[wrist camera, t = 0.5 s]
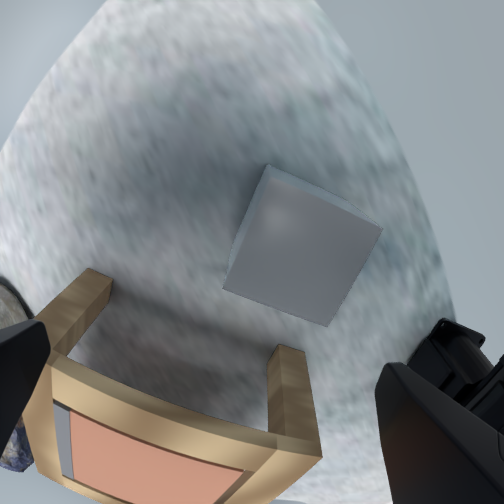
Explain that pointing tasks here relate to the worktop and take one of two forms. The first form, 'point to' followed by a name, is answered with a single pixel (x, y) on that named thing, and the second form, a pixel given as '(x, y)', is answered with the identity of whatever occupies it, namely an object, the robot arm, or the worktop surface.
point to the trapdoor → (134, 464)
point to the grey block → (299, 248)
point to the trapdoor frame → (169, 410)
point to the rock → (17, 450)
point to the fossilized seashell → (10, 308)
